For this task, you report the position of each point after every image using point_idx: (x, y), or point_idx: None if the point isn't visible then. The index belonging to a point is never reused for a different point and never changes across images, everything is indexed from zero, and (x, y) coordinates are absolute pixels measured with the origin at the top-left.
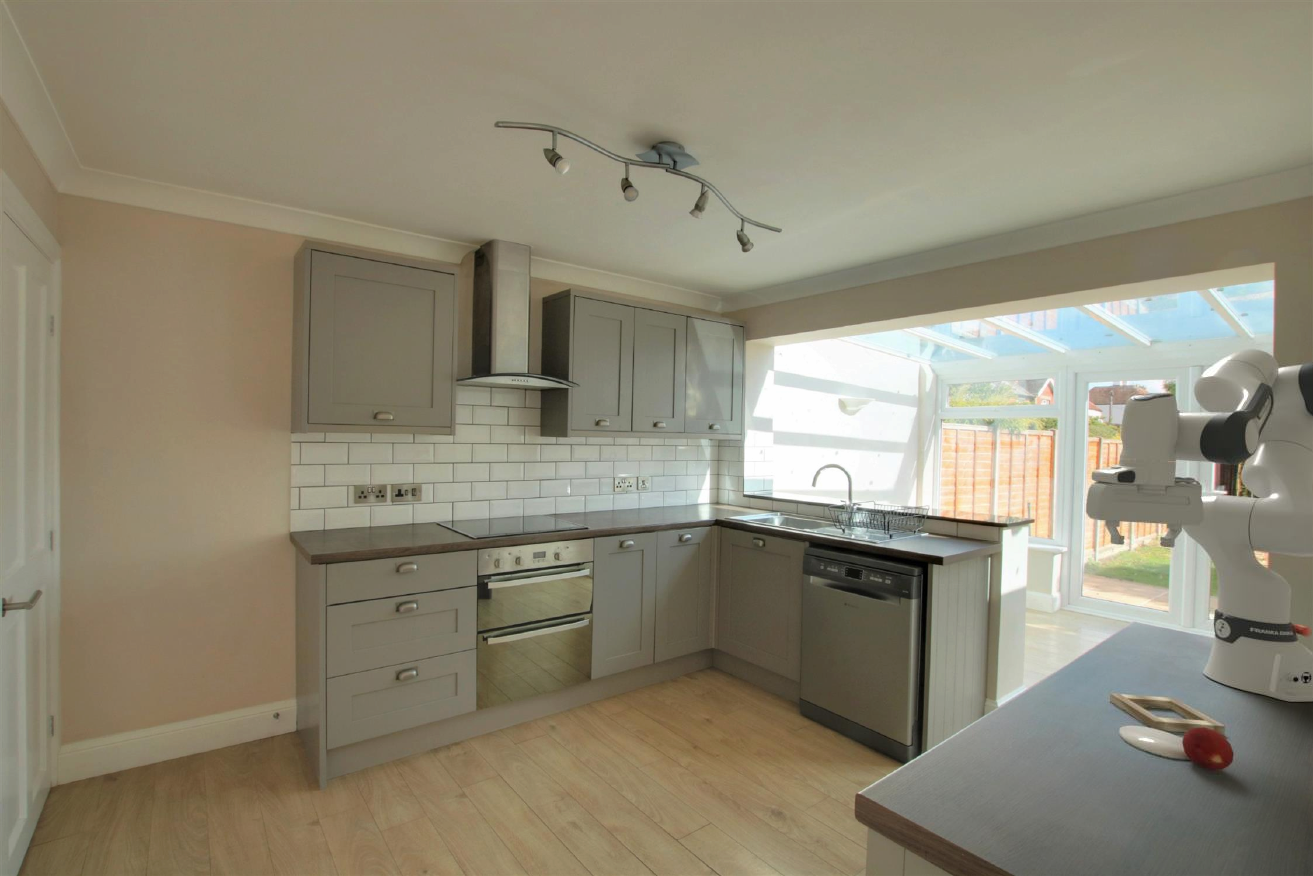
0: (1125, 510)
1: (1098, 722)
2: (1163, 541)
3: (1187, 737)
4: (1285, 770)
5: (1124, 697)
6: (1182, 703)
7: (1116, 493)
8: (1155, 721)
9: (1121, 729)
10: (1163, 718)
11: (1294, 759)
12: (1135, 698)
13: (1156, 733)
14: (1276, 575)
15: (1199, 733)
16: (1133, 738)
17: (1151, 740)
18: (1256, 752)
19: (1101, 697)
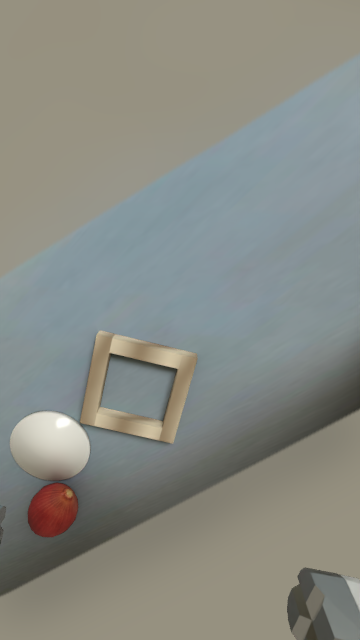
0: None
1: (18, 389)
2: (313, 621)
3: (29, 509)
4: (152, 504)
5: (107, 351)
6: (188, 378)
7: None
8: (80, 422)
9: (23, 421)
10: (102, 417)
11: (195, 489)
12: (123, 355)
13: (65, 434)
14: None
15: (31, 526)
16: (19, 441)
17: (39, 449)
18: (165, 472)
19: (99, 314)
